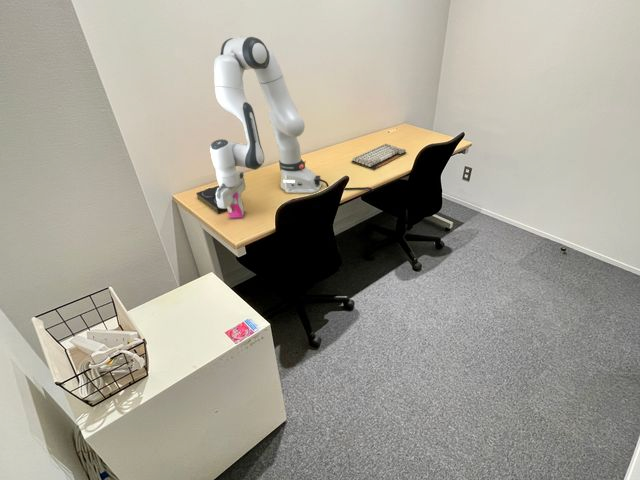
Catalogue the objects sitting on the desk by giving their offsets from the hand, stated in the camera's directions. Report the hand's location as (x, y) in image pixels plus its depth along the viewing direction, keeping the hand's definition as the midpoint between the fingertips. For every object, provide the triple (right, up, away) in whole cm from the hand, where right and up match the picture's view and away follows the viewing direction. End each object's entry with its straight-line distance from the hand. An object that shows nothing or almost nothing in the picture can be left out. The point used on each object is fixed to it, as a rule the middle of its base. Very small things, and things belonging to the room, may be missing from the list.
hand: (235, 207), depth 152 cm
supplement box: (0, -3, +3) cm, 4 cm away
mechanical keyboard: (+72, +44, +62) cm, 104 cm away
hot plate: (-13, +5, +13) cm, 19 cm away
